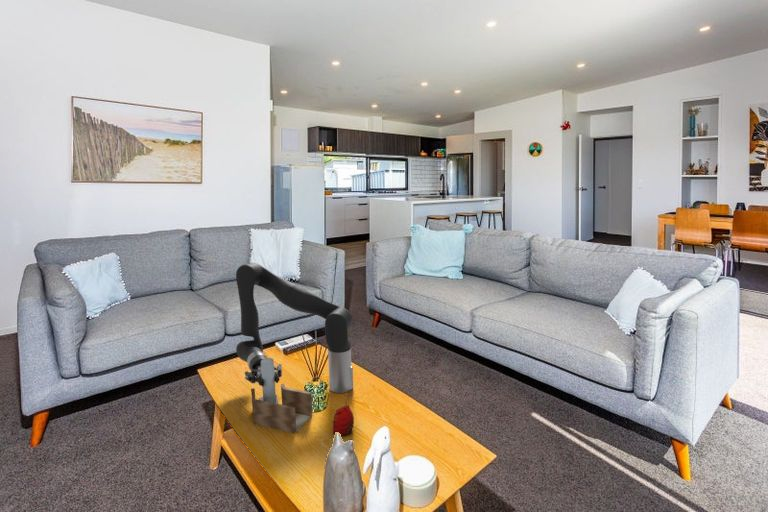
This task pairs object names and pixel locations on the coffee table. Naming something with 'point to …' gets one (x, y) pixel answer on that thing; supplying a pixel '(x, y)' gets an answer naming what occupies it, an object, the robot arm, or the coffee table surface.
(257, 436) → the coffee table surface
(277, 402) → the pad
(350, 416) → the red clay folk toy
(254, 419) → the channel
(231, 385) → the coffee table surface
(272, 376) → the baton
